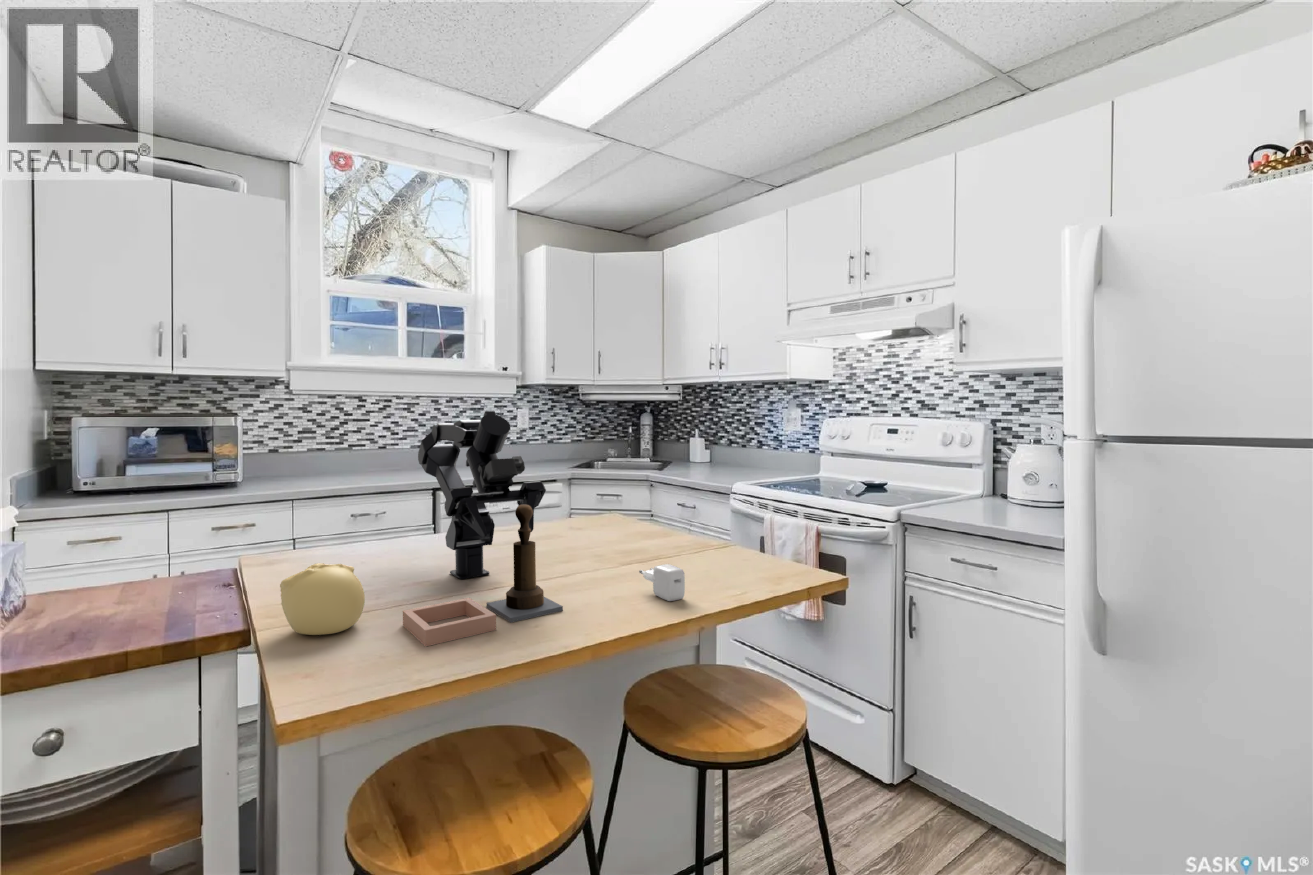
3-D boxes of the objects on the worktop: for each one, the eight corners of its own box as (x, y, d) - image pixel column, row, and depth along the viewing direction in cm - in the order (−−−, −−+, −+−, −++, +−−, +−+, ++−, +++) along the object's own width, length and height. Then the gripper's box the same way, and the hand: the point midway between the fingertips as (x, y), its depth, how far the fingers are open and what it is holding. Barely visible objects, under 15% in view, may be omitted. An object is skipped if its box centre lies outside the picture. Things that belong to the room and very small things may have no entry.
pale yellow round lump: (344, 612, 111) (342, 552, 111) (377, 628, 104) (376, 563, 103) (272, 630, 102) (270, 565, 102) (303, 649, 95) (301, 578, 94)
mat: (486, 607, 114) (486, 603, 114) (536, 596, 120) (536, 592, 120) (510, 622, 106) (510, 618, 106) (562, 610, 112) (562, 606, 112)
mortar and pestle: (531, 596, 118) (530, 500, 117) (550, 604, 113) (550, 504, 112) (499, 603, 114) (498, 504, 113) (518, 612, 109) (517, 509, 108)
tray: (402, 625, 105) (402, 610, 105) (469, 611, 112) (469, 597, 112) (425, 646, 96) (425, 630, 96) (496, 629, 103) (496, 614, 103)
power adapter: (635, 588, 126) (635, 559, 125) (655, 584, 128) (655, 556, 128) (666, 603, 116) (666, 572, 116) (688, 599, 119) (688, 568, 119)
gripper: (448, 444, 116) (470, 513, 107) (541, 440, 127) (568, 502, 118) (435, 482, 122) (455, 549, 114) (525, 476, 133) (549, 537, 125)
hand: (509, 533), depth 118 cm, fingers open, 9 cm apart
